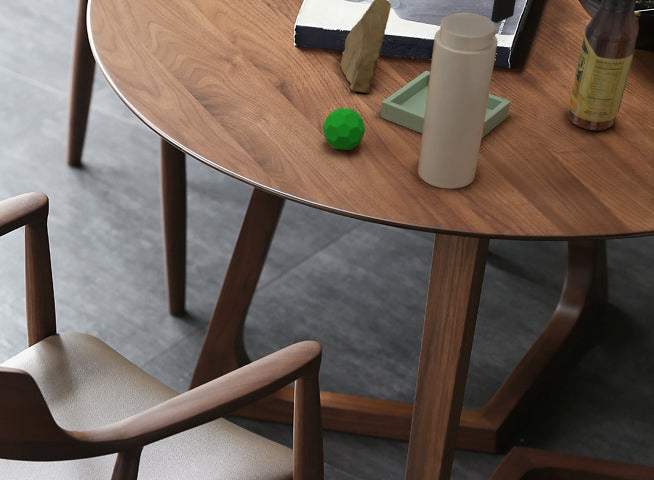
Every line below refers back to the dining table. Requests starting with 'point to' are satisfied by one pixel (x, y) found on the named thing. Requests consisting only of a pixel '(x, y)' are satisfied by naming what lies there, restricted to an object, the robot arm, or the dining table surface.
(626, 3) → the sauce bottle
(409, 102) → the tray
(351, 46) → the rock
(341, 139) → the polyhedron
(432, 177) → the jar
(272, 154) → the dining table surface
